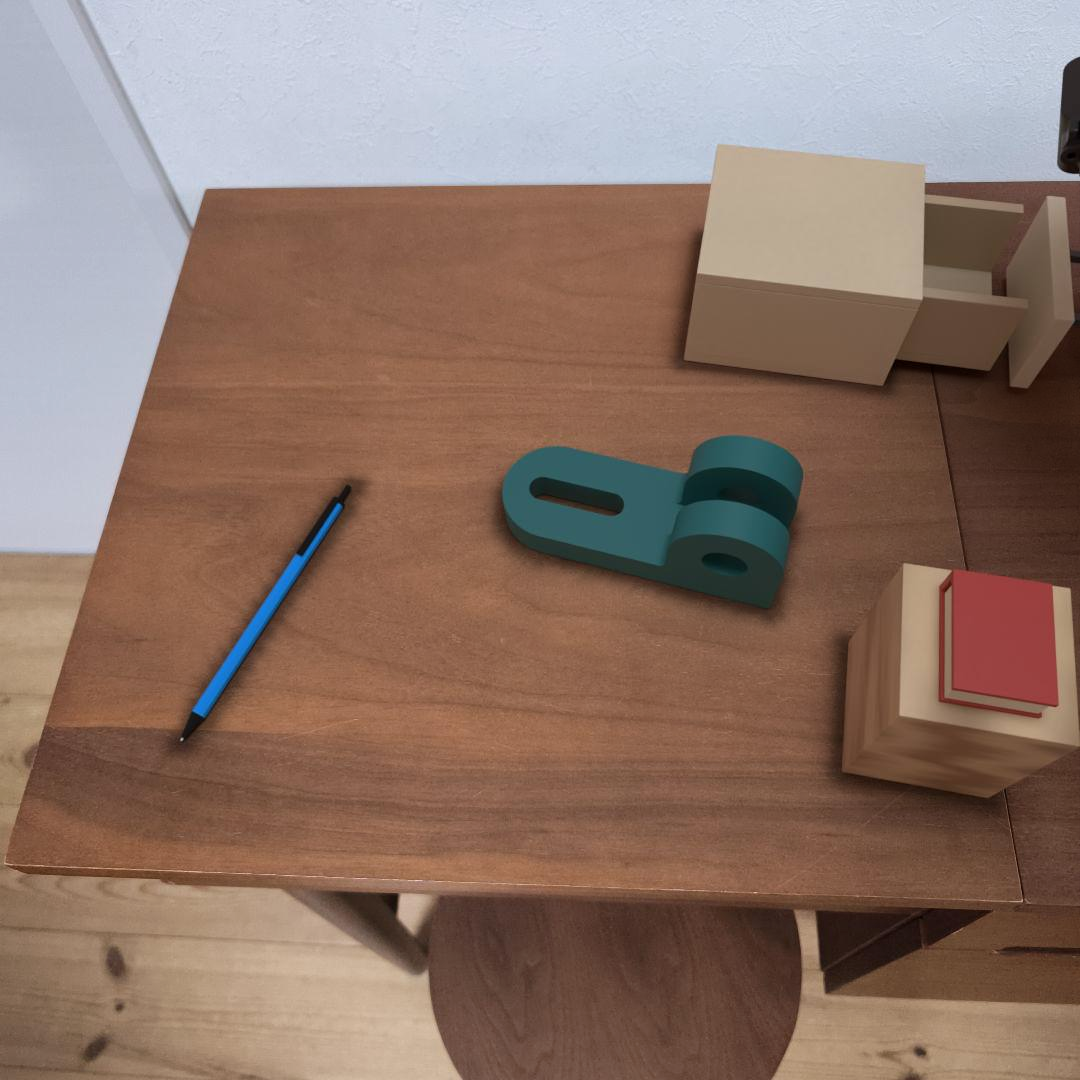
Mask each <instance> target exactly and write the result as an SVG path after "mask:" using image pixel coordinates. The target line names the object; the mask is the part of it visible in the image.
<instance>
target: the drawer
mask: <svg viewBox="0 0 1080 1080" xmlns="http://www.w3.org/2000/svg"><path fill="white" fill-rule="evenodd" d="M1024 208H1025V206H1024V204H1021V203H1014V202H1013V203H1012V202H1004V201H1003V202H1001V201H992V200H983V199H974V198H966V197H954V196H946V195H945V196H944V195H937V194H935V195H934V194H926V193H925V207H924V262H923V300H922V302H921V304H920V307H919V308H918V311H917V313H916V316H915V318H914V320H913V322H912V324H911V326H910V328H909V330H908V333H907V335H906V337H905V339H904V341H903V343H902V345H901V347H900V350H899V352H898V354H897V356H896V358H895V360H901V361H907V362H916V363H922V364H923V363H924V364H931V365H940V366H948V367H956V368H963V369H972V370H979V371H986V372H987V371H988V372H989V371H991V369H992V368H993V366H994V364H995V363H996V361H997V360H998V359H999V356H1000V354H1001V353H1002V351H1003V350H1004V348H1005V347H1006V345H1007V344H1008V365H1009V367H1008V368H1009V386H1010V387H1013V388H1020V389H1028V388H1029V387H1031V384H1032V383H1033V381H1035V379H1036V377H1037V376H1038V374H1039V373H1040V372H1041V370H1042V369H1043V367H1044V366H1045V364H1047V362H1048V360H1049V359H1050V358H1051V356H1052V354H1054V352H1055V350H1056V349H1057V348H1058V346H1059V344H1060V343H1061V342H1062V340H1063V339H1064V337H1065V336H1066V334H1067V333H1068V331H1069V330H1070V328H1071V327H1077V328H1078V327H1080V312H1079V313H1077V312H1075V307H1074V294H1073V282H1072V281H1073V279H1072V267H1071V266H1072V265H1071V263H1073V264H1080V250H1075V249H1070V240H1069V238H1070V237H1069V226H1068V213H1067V200H1066V197H1064V196H1055V195H1047V196H1046V197H1045V199H1044V200H1043V203H1042V205H1041V206H1040V208H1039V209H1038V212H1037V213H1036V215H1035V216H1034V218H1033V220H1032V222H1031V224H1030V226H1029V227H1028V230H1027V231H1026V233H1025V235H1024V237H1023V238H1022V240H1021V242H1020V244H1019V245H1018V247H1017V249H1016V251H1015V253H1014V254H1013V256H1012V258H1011V259H1010V261H1009V263H1008V265H1007V267H1006V269H1005V276H1006V278H1005V280H1006V281H1005V282H1006V283H1005V284H1006V296H1002V295H993V281H992V280H993V277H992V276H993V275H992V273H993V271H994V270H995V267H996V265H997V263H998V262H999V259H1000V258H1001V256H1002V254H1003V252H1004V250H1005V249H1006V247H1007V245H1008V243H1009V241H1010V239H1011V237H1012V236H1013V234H1014V232H1015V230H1016V228H1017V227H1018V225H1019V223H1020V221H1021V220H1022V217H1023V216H1024V214H1025V209H1024Z"/></svg>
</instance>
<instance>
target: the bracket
mask: <svg viewBox="0 0 1080 1080" xmlns="http://www.w3.org/2000/svg"><path fill="white" fill-rule="evenodd" d="M803 480H804V469H803V466H802V465H801V463H800V461H799V460H798V459H797V458H796V457H795V456H794V455H793V454H792V453H791V452H790V451H788V450H787V449H785V448H784V447H782V446H781V445H778V444H776V443H773V442H771V441H769V440H766V439H762V438H760V437H755V436H750V435H749V436H748V435H737V434H736V435H735V434H732V435H731V434H730V435H729V434H728V435H720V436H716V437H712V438H710V439H707V440H705V441H702V442H701V443H700V444H699V445H697V447H696V448H695V449H694V450H693V452H692V455H691V459H690V463H689V467H688V471H687V473H684V472H683V473H682V472H677V471H674V470H669V469H665V468H662V467H661V468H660V467H656V466H653V465H647V464H643V463H638V462H634V461H630V460H626V459H622V458H616V457H612V456H608V455H604V454H600V453H595V452H591V451H586V450H582V449H577V448H573V447H569V446H563V445H552V446H545V447H544V446H543V447H540V448H536V449H534V450H531V451H529V452H527V453H525V454H524V455H523V456H521V457H520V458H519V459H517V460H516V461H515V462H514V463H513V464H512V465H511V466H510V468H509V470H508V471H507V473H506V475H505V477H504V480H503V483H502V488H501V489H502V490H501V496H502V497H501V498H502V503H503V504H502V505H503V511H504V517H505V521H506V524H507V526H508V527H507V528H508V529H509V530H510V533H512V535H513V536H514V537H515V539H516V540H517V541H518V542H520V543H521V544H522V545H524V546H525V547H527V548H528V549H530V550H533V551H535V552H538V553H541V554H546V555H550V556H554V557H557V558H562V559H566V560H570V561H574V562H577V563H582V564H586V565H590V566H592V567H593V566H594V567H598V568H601V569H606V570H610V571H613V572H618V573H622V574H627V575H630V576H633V577H639V578H641V579H646V580H651V581H654V582H658V583H662V584H666V585H670V586H674V587H677V588H683V589H686V590H690V591H695V592H698V593H702V594H707V595H711V596H715V597H717V598H723V599H727V600H730V601H734V602H739V603H743V604H747V605H751V606H755V607H758V608H763V609H766V610H770V607H771V605H772V603H773V601H774V599H775V597H776V594H777V592H778V590H779V588H780V586H781V583H782V581H783V580H784V576H785V570H786V566H787V561H788V555H789V551H790V545H791V535H790V532H789V531H790V528H791V525H792V523H793V520H794V518H795V516H796V513H797V510H798V505H799V500H800V495H801V491H802V484H803ZM541 495H547V496H551V497H555V498H559V499H564V500H568V501H571V502H576V503H580V504H584V505H589V506H592V507H593V506H594V507H597V508H601V509H605V510H610V511H614V512H616V513H618V514H616V515H605V514H602V513H597V512H593V511H590V510H585V509H580V508H576V507H572V506H569V505H564V504H560V503H556V502H553V501H552V502H551V501H547V500H543V499H539V498H536V497H538V496H541Z"/></svg>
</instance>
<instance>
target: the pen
mask: <svg viewBox="0 0 1080 1080" xmlns="http://www.w3.org/2000/svg"><path fill="white" fill-rule="evenodd" d="M351 489H352V486H351V485H349V484H346V485H345V486H344V487H343V489H342V491H341V492H340V493H339V495H338V497H337V496H333V497H332V498H331V500H330V501H329V502H328V504H327V505H326V507H325V509H324V510H323V511H322V513H321V515H320V516H319V518H317V521H316V522H315V523H314V525H313V526H312V528H311V530H310V531H309V532H308V534H307V535H306V537H305V538H304V540H303V542H302V543H301V545H300V546H299V548H298V549H297V551H296V552H295V554H294V556H293V558H292V559H291V561H290V562H289V564H288V565H287V567H286V568H285V569H284V571H283V573H282V574H281V575H280V577H279V578H278V580H277V581H276V582H275V585H274V586H273V588H272V589H271V590H270V592H269V594H268V595H267V597H266V598H265V600H264V601H263V603H262V604H261V606H260V607H259V608H258V610H257V612H256V613H255V614H254V616H253V618H252V619H251V621H250V622H249V624H248V625H247V626H246V628H245V630H244V631H243V633H242V634H241V635H240V637H239V638H238V640H237V642H236V643H235V645H234V647H233V648H232V649H231V651H230V652H229V654H228V656H227V657H226V658H225V660H224V661H223V663H222V665H220V668H218V671H217V672H216V673H215V675H214V676H213V678H212V679H211V681H210V682H209V684H208V686H207V687H206V689H204V691H203V693H202V695H201V696H200V698H199V699H198V700H197V701H196V703H195V705H194V706H193V708H192V709H191V710H190V711H191V712H190V714H189V716H188V719H187V721H186V723H185V726H184V728H183V730H182V733H181V736H180V742H183V741H184V740H186V739H187V737H189V736H190V734H192V732H193V731H194V730H195V729H197V727H198V726H199V725H200V724H201V723H202V722H203V721H204V720H205V719H206V717H208V715H209V714H210V711H211V710H212V708H214V705H215V704H216V702H217V701H218V699H219V698H220V696H221V695H222V693H223V691H224V690H225V689H226V687H227V685H228V684H229V683H230V681H231V679H232V678H233V677H234V675H235V673H236V672H237V670H238V669H239V668H240V666H241V664H242V663H243V661H244V660H245V658H246V657H247V655H248V654H249V652H250V651H251V649H252V647H253V646H254V644H255V643H256V642H257V640H258V638H259V637H260V636H261V634H262V632H263V631H264V629H265V628H266V626H267V625H268V623H269V622H270V620H271V619H272V617H273V615H274V614H275V612H276V611H277V609H278V608H279V607H280V605H281V603H282V602H283V600H284V599H285V597H286V596H287V594H288V592H290V589H291V588H292V587H293V585H294V584H295V581H296V580H297V579H298V577H299V576H300V574H301V573H302V571H303V569H304V568H305V567H306V565H307V564H308V562H309V560H310V559H311V558H312V556H313V554H314V553H315V551H316V550H317V548H318V547H319V545H320V544H321V542H322V540H323V539H324V538H325V536H326V534H327V533H328V531H329V530H330V528H331V527H332V525H333V524H334V522H335V521H336V519H337V518H338V516H339V515H340V513H341V512H342V511H343V509H344V507H345V505H346V504H345V502H344V500H345V499H346V497H347V495H348V494H349V493H350V491H351Z"/></svg>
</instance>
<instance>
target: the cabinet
mask: <svg viewBox="0 0 1080 1080" xmlns="http://www.w3.org/2000/svg"><path fill="white" fill-rule="evenodd" d="M925 194H926V164H922V163H913V162H902V161H901V162H900V161H892V160H883V159H882V160H881V159H872V158H863V157H852V156H842V155H834V154H823V153H812V152H804V151H793V150H785V149H784V150H783V149H773V148H764V147H755V146H754V147H753V146H745V145H744V146H743V145H733V144H725V143H718V144H717V145H716V151H715V157H714V163H713V169H712V177H711V181H710V188H709V194H708V201H707V208H706V213H705V218H704V226H703V232H702V233H703V234H702V238H701V245H700V251H699V257H698V263H697V269H696V275H695V282H694V288H693V294H692V295H693V296H692V304H691V310H690V315H689V321H688V322H689V323H688V328H687V336H686V342H685V349H684V356H683V361H688V362H694V363H703V364H708V365H709V364H711V365H716V366H717V365H718V366H726V367H734V368H741V369H749V370H756V371H762V372H763V371H764V372H771V373H779V374H787V375H793V376H794V375H796V376H802V377H811V378H817V379H826V380H832V381H833V380H834V381H842V382H848V383H857V384H863V385H872V386H879V387H883V386H884V384H885V382H886V379H887V377H888V375H889V373H890V371H891V368H892V367H893V364H894V362H895V360H896V359H895V358H896V356H897V354H898V352H899V350H900V347H901V345H902V343H903V341H904V339H905V337H906V335H907V333H908V330H909V328H910V326H911V324H912V322H913V320H914V318H915V316H916V313H917V311H918V308H919V307H920V304H921V302H922V300H923V262H924V207H925Z"/></svg>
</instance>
